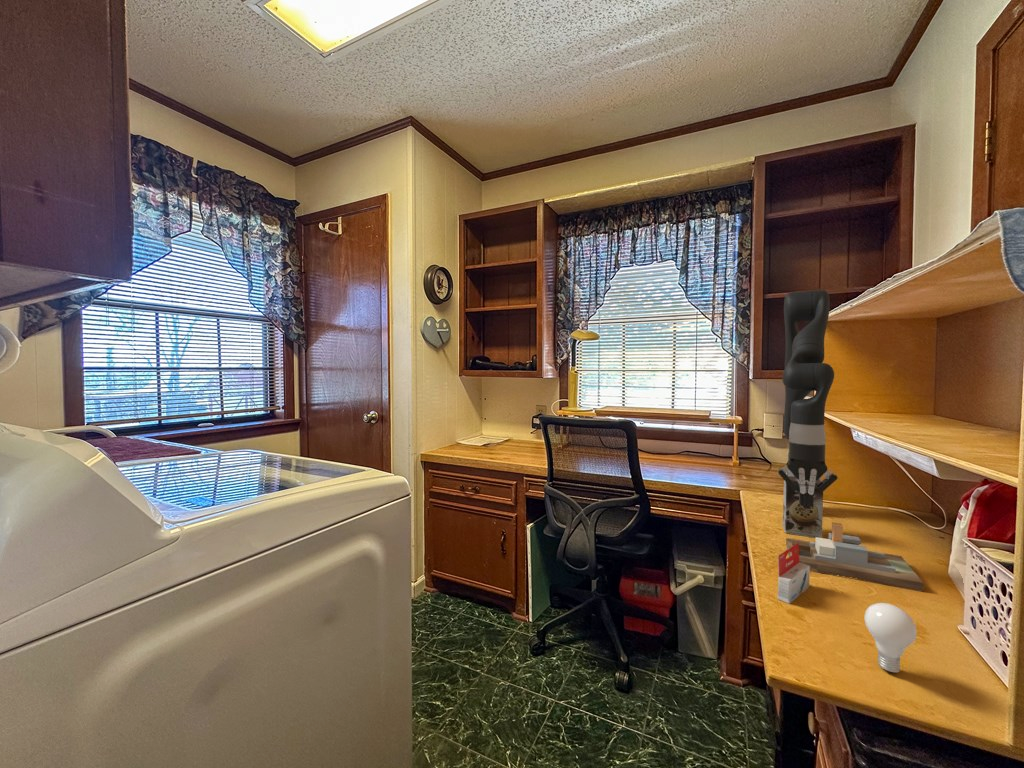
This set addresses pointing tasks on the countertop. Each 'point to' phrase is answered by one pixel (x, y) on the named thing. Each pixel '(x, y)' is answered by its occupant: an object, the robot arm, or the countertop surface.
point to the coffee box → (802, 512)
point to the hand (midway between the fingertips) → (805, 507)
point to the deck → (861, 568)
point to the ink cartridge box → (792, 575)
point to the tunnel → (853, 554)
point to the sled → (830, 541)
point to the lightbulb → (890, 633)
